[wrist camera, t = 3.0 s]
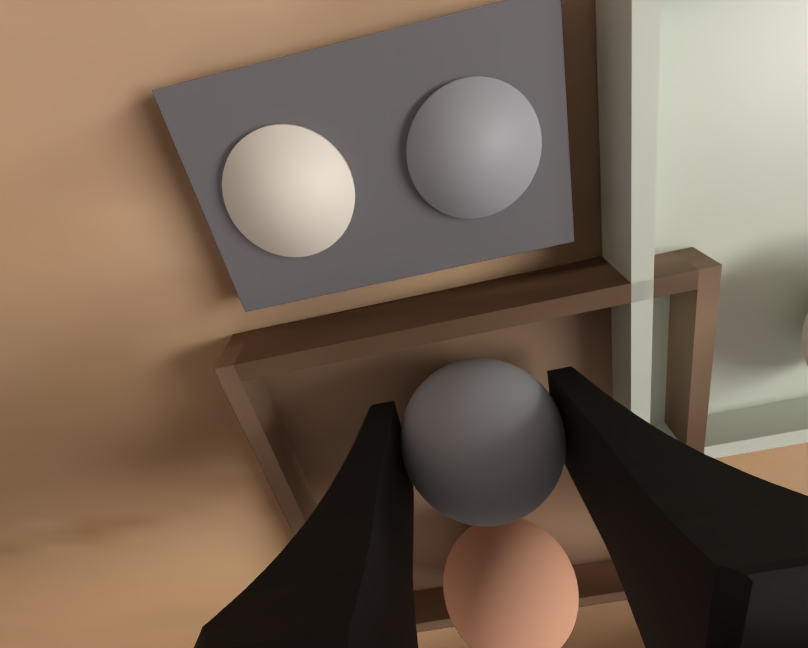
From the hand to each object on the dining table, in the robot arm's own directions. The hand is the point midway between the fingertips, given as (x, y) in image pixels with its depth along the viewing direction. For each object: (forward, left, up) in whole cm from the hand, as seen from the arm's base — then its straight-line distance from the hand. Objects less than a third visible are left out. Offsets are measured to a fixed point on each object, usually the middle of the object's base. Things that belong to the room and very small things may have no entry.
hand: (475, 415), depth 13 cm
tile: (+6, +1, -2) cm, 7 cm away
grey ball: (0, 0, -1) cm, 1 cm away
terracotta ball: (-6, 0, -1) cm, 6 cm away
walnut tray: (-3, 0, -2) cm, 3 cm away
